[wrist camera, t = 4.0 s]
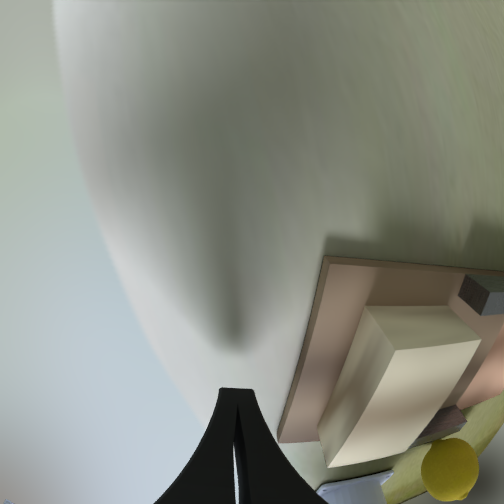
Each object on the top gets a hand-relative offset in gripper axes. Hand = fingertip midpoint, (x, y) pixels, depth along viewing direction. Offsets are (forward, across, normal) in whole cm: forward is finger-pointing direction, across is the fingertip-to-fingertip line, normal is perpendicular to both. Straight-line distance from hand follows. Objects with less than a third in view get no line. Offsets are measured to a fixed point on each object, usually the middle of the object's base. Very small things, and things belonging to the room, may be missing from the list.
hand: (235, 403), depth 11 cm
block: (+2, -8, 0) cm, 8 cm away
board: (+2, -14, 0) cm, 14 cm away
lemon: (+2, -20, +12) cm, 23 cm away
